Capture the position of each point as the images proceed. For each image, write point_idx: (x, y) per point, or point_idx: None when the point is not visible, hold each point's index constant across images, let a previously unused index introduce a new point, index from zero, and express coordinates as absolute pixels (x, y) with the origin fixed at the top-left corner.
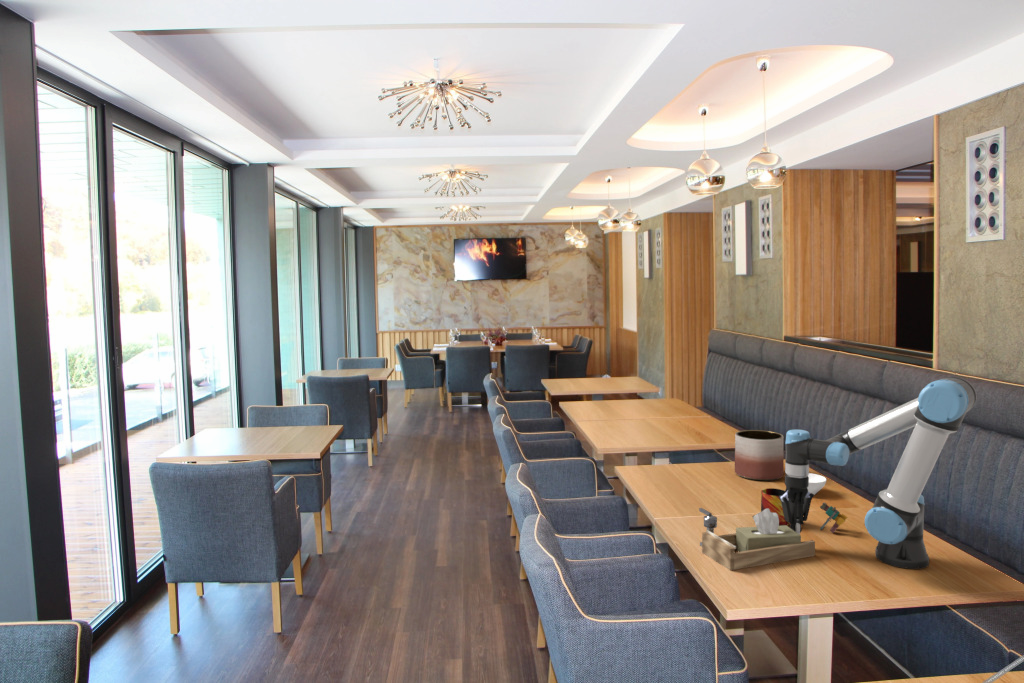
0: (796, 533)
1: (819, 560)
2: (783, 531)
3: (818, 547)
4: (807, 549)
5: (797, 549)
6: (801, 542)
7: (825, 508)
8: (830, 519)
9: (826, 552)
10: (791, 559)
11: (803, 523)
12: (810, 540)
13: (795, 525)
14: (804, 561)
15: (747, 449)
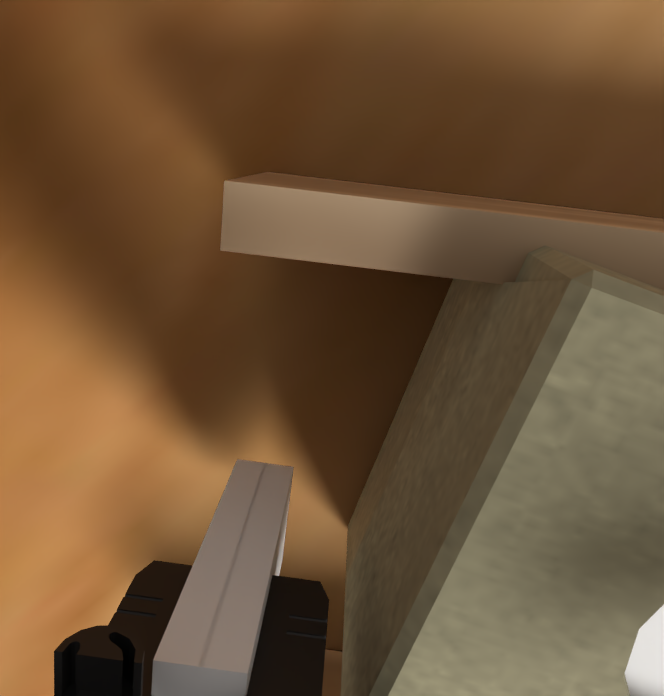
0: (564, 407)
1: (335, 22)
2: (625, 627)
3: (15, 344)
4: (395, 193)
5: (604, 220)
6: (504, 256)
7: None
8: None
9: (36, 183)
10: (656, 218)
11: (87, 638)
12: (269, 250)
13: (253, 679)
14: (549, 96)
15: None
